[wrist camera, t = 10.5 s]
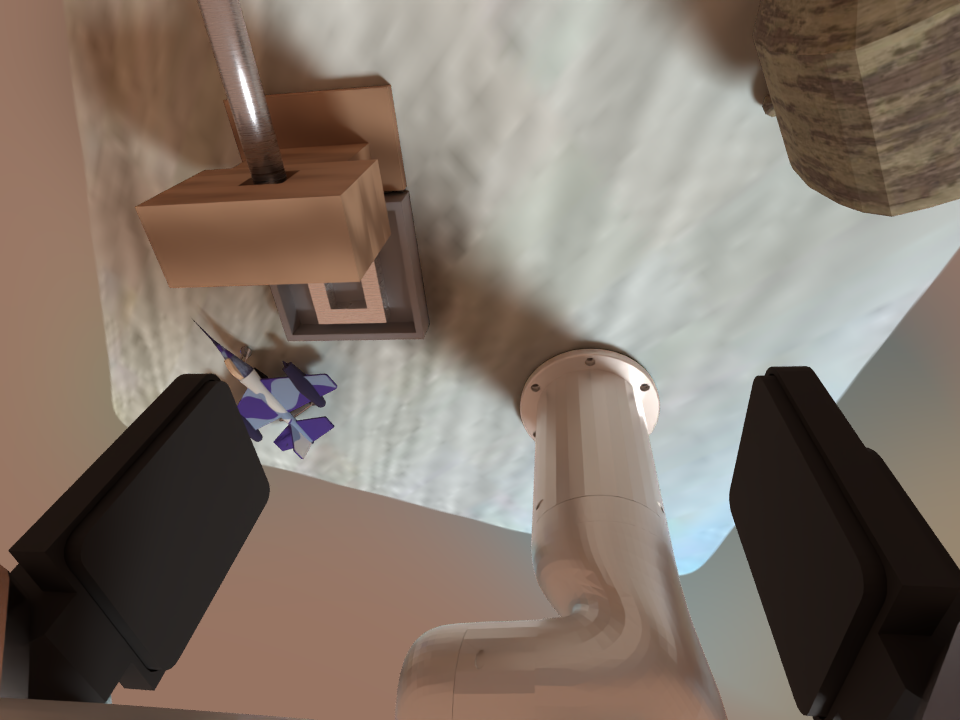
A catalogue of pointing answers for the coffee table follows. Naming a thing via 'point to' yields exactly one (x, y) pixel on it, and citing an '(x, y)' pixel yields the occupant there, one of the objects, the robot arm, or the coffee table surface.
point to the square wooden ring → (353, 311)
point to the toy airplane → (280, 401)
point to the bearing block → (288, 199)
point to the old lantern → (866, 98)
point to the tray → (399, 283)
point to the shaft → (243, 89)
